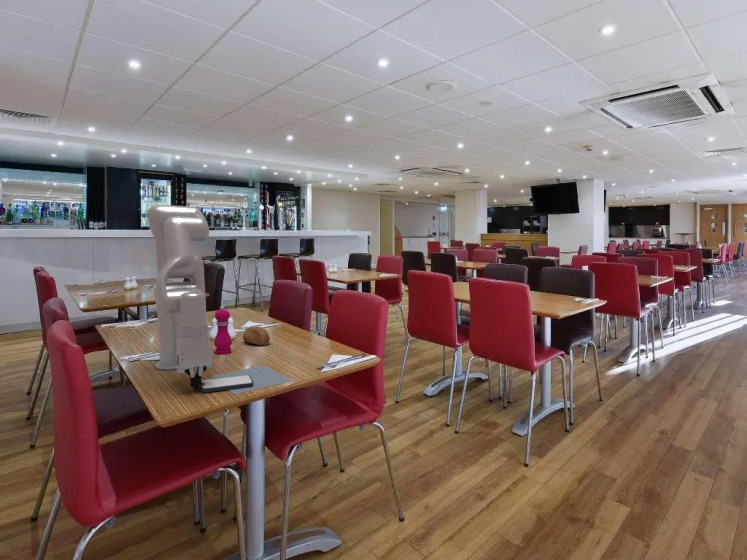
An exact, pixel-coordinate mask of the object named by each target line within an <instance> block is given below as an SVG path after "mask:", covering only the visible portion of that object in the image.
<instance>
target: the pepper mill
mask: <svg viewBox="0 0 747 560" xmlns="http://www.w3.org/2000/svg"><path fill="white" fill-rule="evenodd" d="M230 318H231V315H230V312H229V311H228V310H227V309H225V306H224V305H221V306H219V309H218V310H217V311H216V312H215V313H214V319H215V320H216V326H217V332H216V335H215V337H214V340H213V345H214V347H215V354H216V355H219V356H220V355H221V356H222V355H228V354H231V353H232V347H231V346H232V344H233V340H232V337H231V335H230V333H229V324H230V323H229V322H230V321H229V319H230Z"/></svg>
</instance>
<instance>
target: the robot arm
mask: <svg viewBox="0 0 747 560" xmlns="http://www.w3.org/2000/svg"><path fill="white" fill-rule="evenodd" d="M147 222H148V226H149V229H150V231H151V234H152V236H153V238H154V242H155V256H156V270H157V276H156V280H155V289H154V290H153V297H154V301H155V306H156V311H157V325H158V327H157V331H158V350H159V351H158V354H159V360H158V361H156V362H155V364H154V365H155V366H154V367H155V368H156V369H158V370H163V371H167V370H169V371H170V370H176V373H178V374H186V375H188V376H189V385H190V386H189V387H191V388H192V389H193V390H197V389H198V390H201V386H200V385H201V381H202V376H203V374H204V373H205V371H207V370H208V369H210V368H212V367H214V364H213V360H214V359H213V358H214V357H213V349H212V343H211V337H210V334H209V333H208V331H211V330H212V326H211V325H207V304H206V303H207V300H206V298H207V297H206V286H205V267H204V262H203V258H202V257H201V255H199V254H198V253H195V251H194V249H195V248H194V243H193V242H205V241H207V240H208V238H209V236H210V227H209V224H208V220H207V219H206V217H205V215H204V214H203V213H202V211H201V210H200V209H199V208H198V207H196V206H188V205H187V206H186V205H185V206H184V205H169V204H160V205H159V204H158V205H153V206H150V207H149V209H148V211H147ZM168 279H169V280H171V279H173V280H174V279H176V280H177V279H189V280H190V281H172V282H166V281H167V280H168ZM195 368H196V370H195V371H194V369H195Z"/></svg>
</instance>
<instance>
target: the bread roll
mask: <svg viewBox="0 0 747 560" xmlns="http://www.w3.org/2000/svg"><path fill="white" fill-rule="evenodd" d="M270 339H271V338H270V334H269V333H268V331H267V330H266V329H265V328H264V327H262V326H258V325H257V326H254V325H253V326H249V327H247V328H245V329H244V330H243V334H242V340H243V341H244V342H245V343H249V344H254V345H258V346H266V345H268V344H269V342H270Z"/></svg>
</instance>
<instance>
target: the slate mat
mask: <svg viewBox="0 0 747 560" xmlns="http://www.w3.org/2000/svg"><path fill="white" fill-rule="evenodd" d="M246 375H249V376H250V377H251V379H252V380H253V386H252V387H246V388H237V389H229V390H228V391H229V392H231V393H232V394H233V395H238V394H243V393H248V392H252V391H256V389H257V390H261V389H264V388H270V387H273V386H277V385H278V386H279V385H282V383H283V384H286V382H287V383H290V381H291V382H292V380H291V379H290V378H287V377H286V376H284V375H282V374H280V373H279V372H276V371H275V370H274V369H272V368H270V367H268V366H266V365H260V366H254V367H250V368H245V369H244V368H243V369H238V370H233V371H229V372H223V373H220V374H214V375H211V377H212V378H213V379H219V378H228V377H237V376H246Z"/></svg>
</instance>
